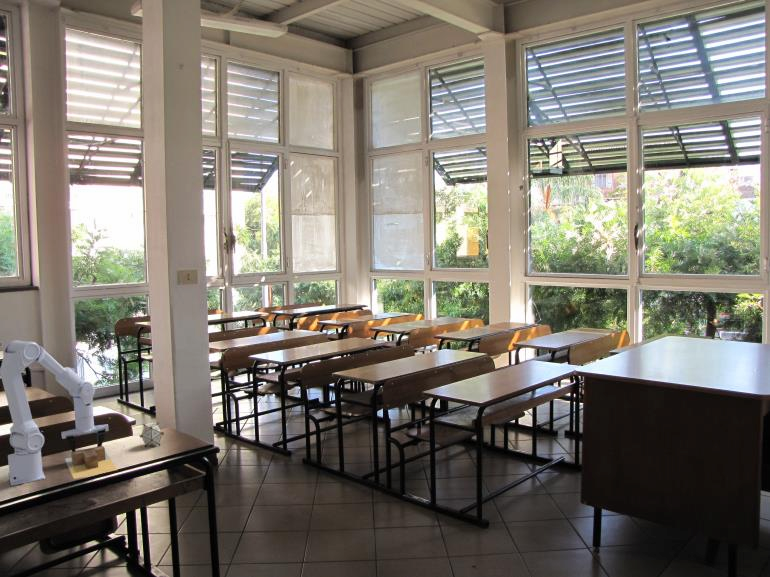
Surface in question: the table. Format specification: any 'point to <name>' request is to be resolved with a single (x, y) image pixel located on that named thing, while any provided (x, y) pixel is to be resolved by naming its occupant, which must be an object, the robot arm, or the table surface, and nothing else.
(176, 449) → the table surface
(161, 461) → the table surface
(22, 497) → the table surface
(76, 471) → the mat
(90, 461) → the T block
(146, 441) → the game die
